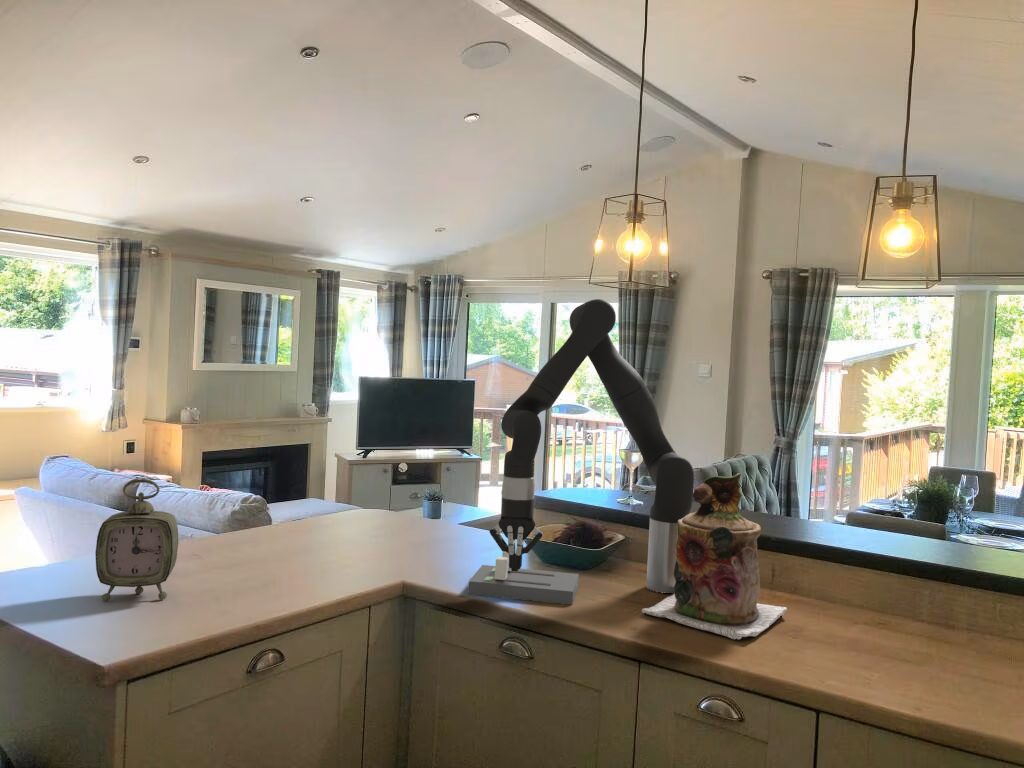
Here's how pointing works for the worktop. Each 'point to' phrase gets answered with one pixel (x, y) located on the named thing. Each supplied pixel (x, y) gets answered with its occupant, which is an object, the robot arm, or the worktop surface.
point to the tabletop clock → (137, 546)
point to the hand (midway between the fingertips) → (514, 570)
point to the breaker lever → (508, 559)
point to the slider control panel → (525, 585)
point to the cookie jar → (717, 567)
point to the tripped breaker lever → (501, 568)
